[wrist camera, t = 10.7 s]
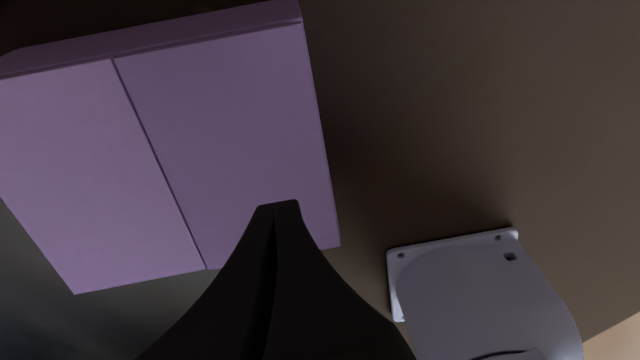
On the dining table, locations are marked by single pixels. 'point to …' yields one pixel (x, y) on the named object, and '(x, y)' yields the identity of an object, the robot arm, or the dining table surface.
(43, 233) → the flap
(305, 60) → the storage box
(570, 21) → the dining table surface
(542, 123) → the dining table surface
